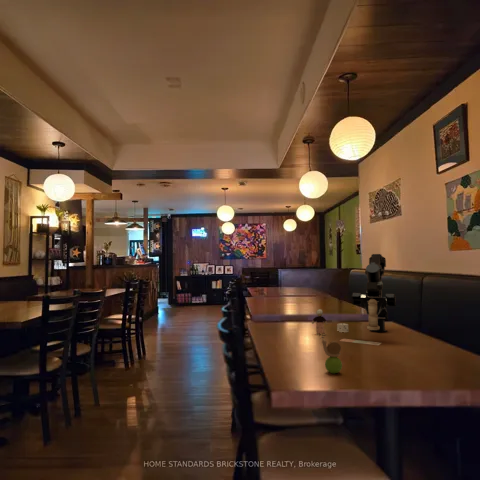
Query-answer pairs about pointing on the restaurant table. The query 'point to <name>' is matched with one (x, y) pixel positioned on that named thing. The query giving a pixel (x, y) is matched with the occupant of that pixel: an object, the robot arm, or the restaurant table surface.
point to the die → (342, 327)
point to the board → (360, 341)
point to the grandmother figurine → (319, 322)
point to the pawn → (372, 315)
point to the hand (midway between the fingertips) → (372, 314)
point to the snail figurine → (332, 356)
